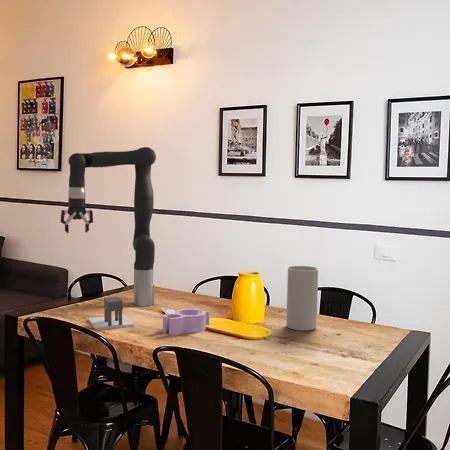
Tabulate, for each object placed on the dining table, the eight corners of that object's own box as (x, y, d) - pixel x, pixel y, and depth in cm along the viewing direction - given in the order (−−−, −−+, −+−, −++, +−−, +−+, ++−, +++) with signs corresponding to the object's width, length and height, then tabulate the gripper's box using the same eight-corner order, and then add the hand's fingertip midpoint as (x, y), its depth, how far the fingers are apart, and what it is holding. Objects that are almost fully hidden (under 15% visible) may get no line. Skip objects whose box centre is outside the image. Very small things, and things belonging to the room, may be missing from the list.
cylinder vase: (292, 321, 246) (293, 264, 244) (320, 325, 240) (321, 267, 238) (282, 328, 235) (283, 269, 232) (311, 332, 229) (313, 271, 227)
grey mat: (125, 317, 249) (125, 314, 249) (134, 326, 235) (134, 323, 235) (88, 320, 243) (88, 317, 243) (95, 329, 228) (95, 327, 228)
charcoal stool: (108, 302, 230) (103, 297, 237) (108, 326, 231) (103, 321, 238) (122, 300, 232) (118, 296, 239) (122, 324, 233) (118, 320, 240)
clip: (176, 338, 220) (176, 320, 219) (156, 331, 228) (156, 314, 228) (213, 328, 234) (214, 312, 233) (193, 322, 242) (194, 306, 242)
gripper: (91, 196, 265) (90, 231, 266) (59, 196, 259) (59, 232, 260) (94, 197, 258) (94, 233, 259) (62, 197, 252) (62, 233, 254)
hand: (76, 232), depth 260 cm, fingers open, 8 cm apart
